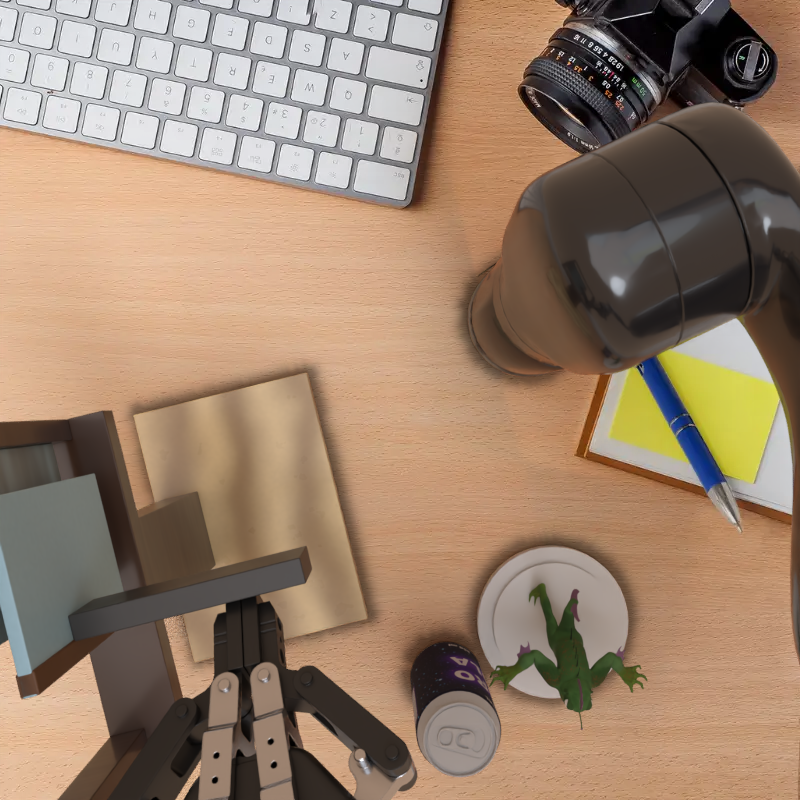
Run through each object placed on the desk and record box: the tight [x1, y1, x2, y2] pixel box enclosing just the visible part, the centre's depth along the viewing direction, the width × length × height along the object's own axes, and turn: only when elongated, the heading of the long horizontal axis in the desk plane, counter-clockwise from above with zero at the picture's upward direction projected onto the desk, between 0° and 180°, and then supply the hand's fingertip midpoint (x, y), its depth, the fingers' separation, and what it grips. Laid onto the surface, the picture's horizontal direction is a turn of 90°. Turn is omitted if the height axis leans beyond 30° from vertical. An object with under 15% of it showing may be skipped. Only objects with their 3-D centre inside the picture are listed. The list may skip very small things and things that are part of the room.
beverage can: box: [409, 641, 502, 778], centre depth 56 cm, size 6×6×12 cm
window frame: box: [0, 409, 216, 800], centre depth 44 cm, size 4×19×34 cm, turn 14°
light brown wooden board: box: [133, 371, 369, 663], centre depth 61 cm, size 14×20×1 cm
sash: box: [0, 473, 312, 700], centre depth 36 cm, size 11×8×11 cm
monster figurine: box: [476, 544, 648, 731], centre depth 57 cm, size 12×12×10 cm
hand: (248, 603), depth 36 cm, fingers closed
